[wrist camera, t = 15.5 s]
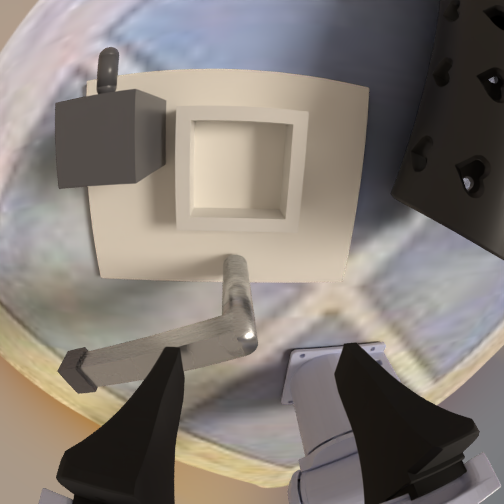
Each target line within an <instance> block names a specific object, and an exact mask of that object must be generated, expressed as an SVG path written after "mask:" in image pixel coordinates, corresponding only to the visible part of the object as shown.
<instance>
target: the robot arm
mask: <svg viewBox="0 0 504 504" xmlns="http://www.w3.org/2000/svg"><path fill="white" fill-rule="evenodd" d="M385 347H386V345H385V343H384V342H377V343H369V344H360V345H358V344H357V343H347V344H344V346H340V347H328V348H314V349H298V350H294V351H292V352H291V354H290V359H289V364H288V369H287V374H286V379H285V384H284V388H283V393H282V398H281V403H282V404H284V405H289V404H294V407H295V412H296V416H297V421H298V425H299V430H300V434H301V439H302V443H303V448H304V453H305V457H304V458H301V459H299V464H300V469H301V470H298V471H296V472H295V473H294V474H293V476H292V478H291V481H290V483H289V486H288V499H289V504H479V503H480V502H481V501H483V500H484V499H486V498H487V497H488V496H490V495H491V494H492V493H494V492H495V491H496V490H497V489H499V488H500V487H501V485H500V482H499V480H498V478H497V476H496V474H495V472H494V470H493V468H492V466H491V464H490V462H489V460H488V459H487V457H486V455H485V453H484V452H482V453H481V454H479V455H477V456H476V457H474V458H473V459H471V460H469V461H468V462H466V463H465V464H463V462H462V460H463V459H464V458H465V456H464V454H463V451H464V450H466V448H468V447H469V446H470V445H471V444H472V443H473V442H474V441H475V439H476V438H477V437H478V436H479V432H480V431H479V430H478V428H477V426H476V425H475V423H474V421H473V420H472V419H470V418H467V417H464V416H461V415H458V414H455V413H452V412H450V411H447V410H445V409H443V408H441V407H439V406H437V405H435V404H433V403H431V402H429V401H427V400H425V399H424V398H422V397H420V396H419V395H417V394H416V393H414V392H413V391H411V390H410V389H408V388H407V387H406V386H404V385H403V384H402V383H401V381H400V380H399V378H398V376H397V374H396V373H395V371H394V369H393V367H392V366H391V364H390V362H389V360H388V359H387V357H386V355H385V353H384V350H385ZM301 354H303V355H301ZM184 380H185V377H184V371H183V365H182V358H181V351H180V347H167V346H166V347H165V348H164V349H163V351H162V353H161V354H160V356H159V358H158V360H157V361H156V363H155V364H154V366H153V368H152V369H151V371H150V372H149V374H148V375H147V376H146V378H145V379H144V381H143V382H142V384H141V385H140V386H139V388H138V389H137V390H136V391H135V393H134V394H133V395H132V396H131V398H130V399H129V400H128V401H127V402H126V403H125V405H124V406H123V407H122V408H121V409H120V410H119V411H118V412H117V413H116V414H115V415H114V416H113V417H112V418H111V419H110V420H108V421H107V422H106V423H105V424H104V425H103V426H102V427H100V428H99V429H98V430H96V431H95V432H94V433H93V434H91V435H90V436H89V437H87V438H86V439H84V440H83V441H82V442H80V443H78V444H76V445H75V446H73V447H71V448H70V449H68V450H66V451H65V453H64V455H63V457H62V459H61V462H60V465H59V469H58V472H57V476H56V478H57V480H58V482H59V483H60V484H61V485H63V486H64V487H65V488H66V489H68V490H69V491H70V492H72V493H73V494H74V499H73V500H72V499H70V498H68V497H65V496H63V495H60V494H58V493H55V492H53V491H50V490H48V489H46V488H43V489H42V492H41V496H40V500H39V504H175V502H174V464H175V463H174V462H175V445H176V437H177V432H178V426H179V420H180V415H181V409H182V403H183V396H184Z"/></svg>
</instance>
